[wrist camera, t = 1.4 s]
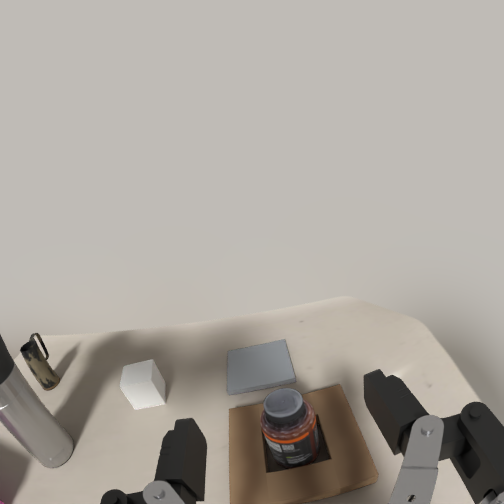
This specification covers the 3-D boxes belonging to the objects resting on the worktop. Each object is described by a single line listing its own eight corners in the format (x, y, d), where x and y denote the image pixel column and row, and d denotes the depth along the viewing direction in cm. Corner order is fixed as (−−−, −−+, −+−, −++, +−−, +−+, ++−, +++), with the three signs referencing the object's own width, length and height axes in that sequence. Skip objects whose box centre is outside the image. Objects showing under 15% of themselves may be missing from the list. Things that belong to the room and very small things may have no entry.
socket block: (236, 512, 20) (229, 506, 20) (233, 418, 36) (229, 408, 35) (375, 482, 20) (378, 474, 19) (340, 394, 35) (340, 384, 35)
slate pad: (228, 395, 41) (227, 391, 40) (229, 354, 51) (227, 351, 51) (295, 381, 41) (295, 377, 40) (285, 343, 51) (284, 339, 51)
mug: (53, 391, 44) (26, 348, 41) (39, 390, 44) (13, 349, 41) (66, 371, 52) (42, 330, 48) (52, 371, 52) (29, 332, 48)
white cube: (165, 404, 40) (151, 380, 39) (135, 410, 39) (119, 386, 38) (165, 382, 46) (152, 358, 44) (137, 388, 45) (123, 365, 43)
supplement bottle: (305, 427, 31) (295, 372, 28) (328, 455, 26) (325, 404, 23) (265, 446, 30) (245, 395, 26) (285, 478, 24) (268, 433, 21)
